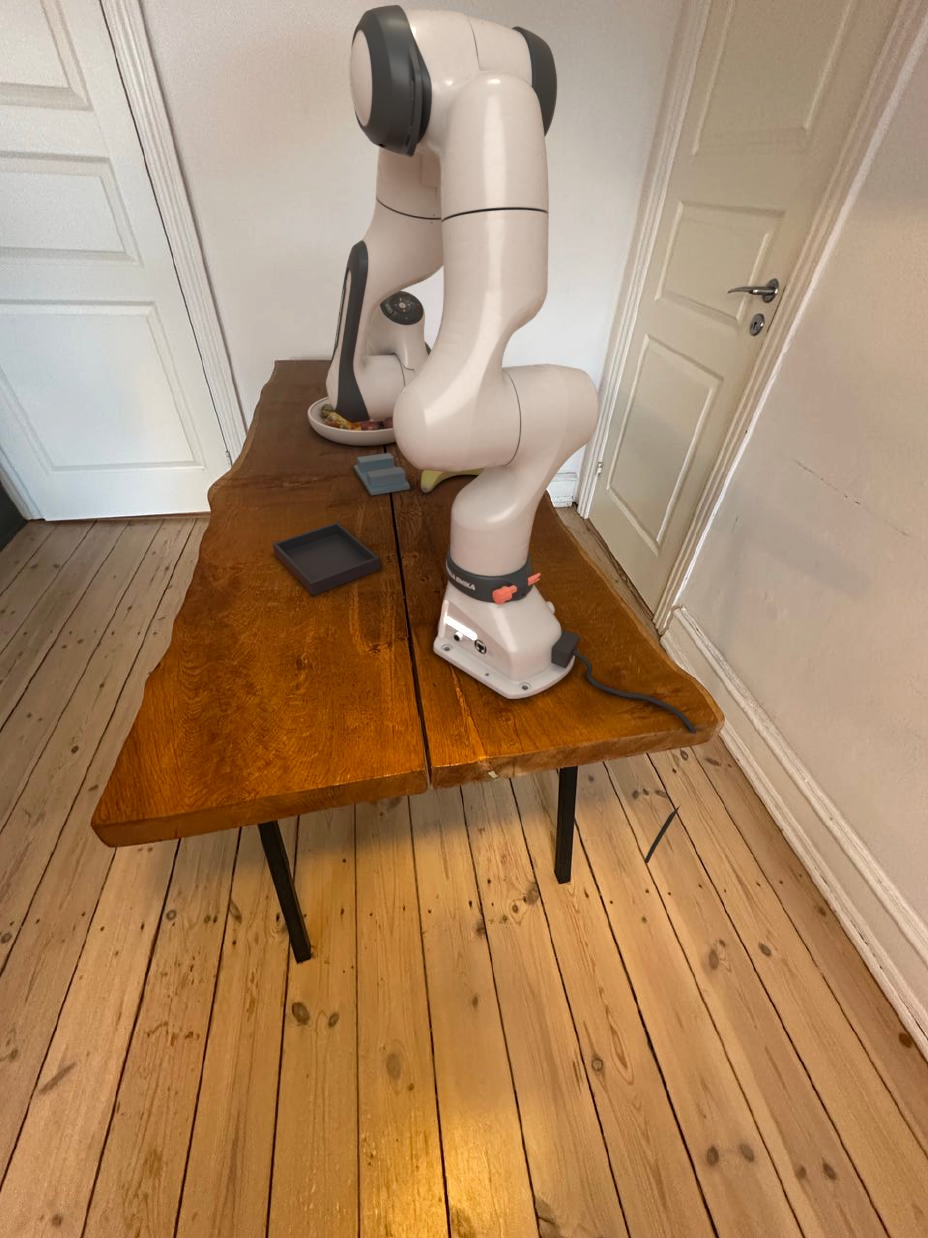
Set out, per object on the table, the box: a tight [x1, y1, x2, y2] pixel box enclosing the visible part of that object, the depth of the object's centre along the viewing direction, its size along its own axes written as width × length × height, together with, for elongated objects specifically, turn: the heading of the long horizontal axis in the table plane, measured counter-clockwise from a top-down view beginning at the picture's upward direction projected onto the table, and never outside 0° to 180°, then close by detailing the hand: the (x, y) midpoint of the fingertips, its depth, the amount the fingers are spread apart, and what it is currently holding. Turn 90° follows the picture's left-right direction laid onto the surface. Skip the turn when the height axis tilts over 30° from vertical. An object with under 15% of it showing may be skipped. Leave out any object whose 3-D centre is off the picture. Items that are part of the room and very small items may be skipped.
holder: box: [353, 452, 411, 496], centre depth 125 cm, size 14×9×4 cm, turn 24°
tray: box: [272, 521, 381, 597], centre depth 99 cm, size 15×13×2 cm
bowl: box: [307, 396, 397, 447], centre depth 146 cm, size 30×30×8 cm
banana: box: [420, 468, 484, 494], centre depth 125 cm, size 14×6×20 cm
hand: (373, 400), depth 113 cm, fingers closed on tape, 3 cm apart
